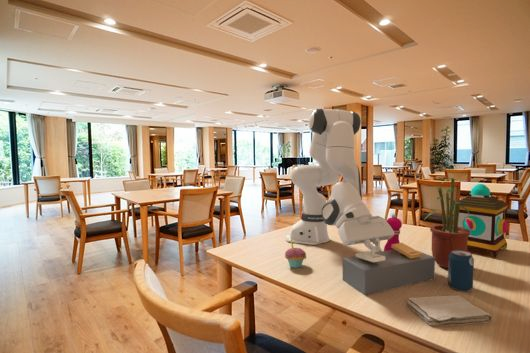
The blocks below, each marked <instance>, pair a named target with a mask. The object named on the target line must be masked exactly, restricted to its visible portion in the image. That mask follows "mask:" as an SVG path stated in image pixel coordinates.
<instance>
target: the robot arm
mask: <svg viewBox="0 0 530 353" xmlns="http://www.w3.org/2000/svg"><path fill="white" fill-rule="evenodd" d="M361 122H362V121H361V116H360V115H359V113H357V112H354V111H351V110H350V111H348V110H345V109H338V108H336V109H335V108H334V109H333V108H331V109H330V108H315V109H314V110H313V111H311V114H310V116H309V118H308V124H309V129H310V130H311V132H313V134H312V138H311V142H310V146H309V151H308V152H309V153H308V154H309V155H310V157H311V159H313V160H314V161H316V163H315V164H305V165H304V164H303V165H298V166H295V167H294V168H293V169H292V170H291V172H290V181H291V182H292V184H293V185H294V186H295V187H297V188H298V189H299V190H300V192H301V194H302V197H303V203H304V204H303V205H304V207H303V208H304V211H301V212H300V219H299V220H298V221H297V222H295V223H294V224H293V225H292V226H291V227H290V231H289V233H288V234H287V235H286V237H285V241H286V242H288V243H291V239H292V242H293V244H294V243H295V244H302V245H303V244H304V245H310V246H311V245H312V246H317V245H320V244H324V243H325V244H326V243H327V242H329V241H330V240H331V239H330V236H329V232H328V226H335V227H336V229H338V230H337V232H338V235H339V239H340V240H341V243H342V244H344V245H345V246H351V245H359V244H363V245H364V246H365V247H366V249H367V248H368V249H369V250H370V252H371V253H372V254H376V253H380V252H382V251H383V250H382V248H381V241H388V239H391V238H392V237H393V236H394V231H393V229H392V228H391V226H390V225H389V224H388V223H387V219H385V218H384V217H382V216H379V215H373V216H372V213H371V212H370V211H369V209H368V207H367V205H366V204H365V202H363V196H362V194H363V193H362V183H361V173H360V167H359V166H358V165H357V162H356V157H355V135H356V134H358V132H359V131H360V129H361ZM339 176H341V177H342V178H343V179H344V181H339V182H338V180H339V178H340V177H339ZM329 185H332V187H331V191H330V192H331V193H330V196H329V197H328V200H327V199H326V197H325V196H324V195H323V194H322V193H320V192H319V191H318V189H317V187H319V186H320V187H321V186H322V187H324V186H329Z"/></svg>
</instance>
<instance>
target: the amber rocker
mask: <svg viewBox="0 0 530 353" xmlns="http://www.w3.org/2000/svg"><path fill="white" fill-rule="evenodd" d="M391 247H392V248H393V249H395V250H397V251H398V252H400V253H402V254H403V255H405V256H407V257H408V258H410V259H412V258H417V257H421V256H422V253H423V252H422V253H420V252H421V251H419V250H417V251H416V249H415V248H413V247H411V246H409V245H407V244H405V243H404V242H400V243H397V244H392V246H391ZM418 251H419V252H418Z"/></svg>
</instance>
